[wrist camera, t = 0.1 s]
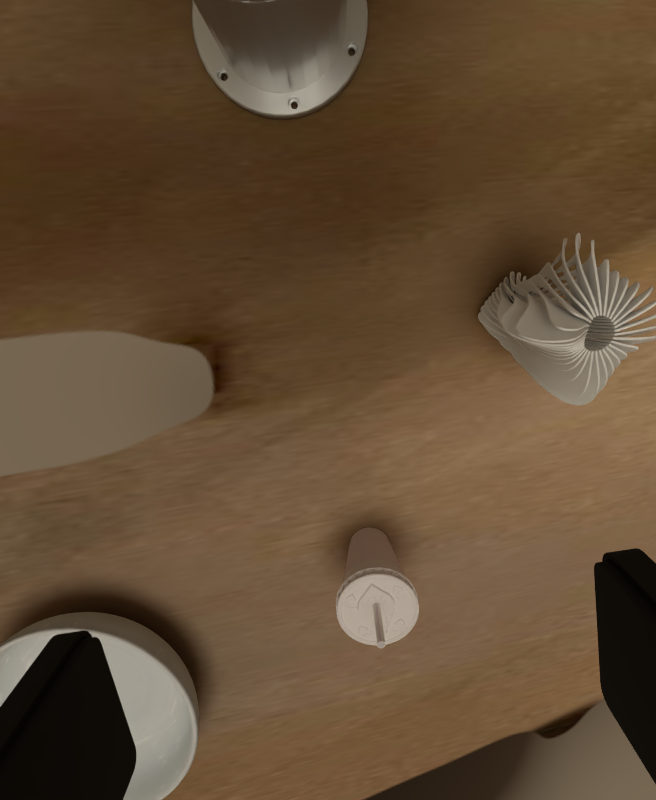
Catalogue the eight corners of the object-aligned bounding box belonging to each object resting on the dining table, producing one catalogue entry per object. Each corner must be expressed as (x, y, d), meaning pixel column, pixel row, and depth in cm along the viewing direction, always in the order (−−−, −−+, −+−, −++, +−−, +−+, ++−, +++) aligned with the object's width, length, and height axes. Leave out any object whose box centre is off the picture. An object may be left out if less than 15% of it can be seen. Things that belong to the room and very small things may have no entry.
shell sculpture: (584, 296, 44) (747, 321, 27) (514, 373, 46) (624, 443, 29) (510, 230, 43) (632, 212, 26) (441, 311, 45) (511, 346, 27)
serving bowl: (221, 754, 57) (206, 820, 50) (24, 757, 57) (-17, 823, 50) (203, 580, 52) (184, 628, 45) (-14, 585, 52) (-65, 633, 45)
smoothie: (396, 508, 49) (421, 603, 36) (409, 568, 51) (437, 681, 37) (328, 521, 50) (326, 620, 36) (342, 581, 51) (346, 697, 38)
